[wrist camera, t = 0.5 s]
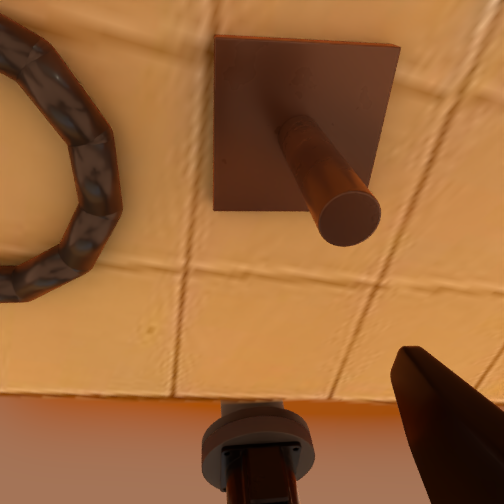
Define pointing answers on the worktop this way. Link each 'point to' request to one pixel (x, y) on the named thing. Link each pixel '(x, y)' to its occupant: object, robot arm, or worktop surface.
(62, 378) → the worktop surface
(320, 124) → the post
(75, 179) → the ring
